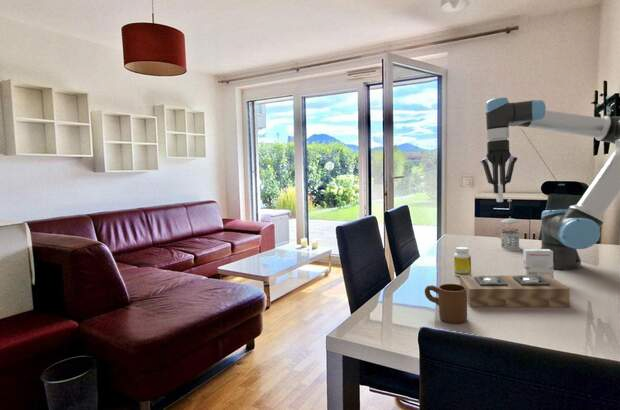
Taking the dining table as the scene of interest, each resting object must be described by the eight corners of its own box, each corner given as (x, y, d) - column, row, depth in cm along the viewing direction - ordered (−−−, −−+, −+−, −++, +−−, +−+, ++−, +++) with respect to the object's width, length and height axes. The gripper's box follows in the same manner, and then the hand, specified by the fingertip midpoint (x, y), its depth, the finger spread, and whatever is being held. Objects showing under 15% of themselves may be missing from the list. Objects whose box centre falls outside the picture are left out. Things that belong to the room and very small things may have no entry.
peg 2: (535, 293, 121) (535, 276, 120) (541, 297, 116) (541, 280, 116) (520, 293, 121) (520, 276, 121) (525, 297, 117) (525, 280, 117)
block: (548, 291, 124) (548, 273, 124) (569, 306, 111) (569, 286, 110) (460, 291, 130) (459, 274, 129) (469, 306, 116) (469, 287, 115)
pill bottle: (472, 277, 144) (472, 249, 143) (456, 277, 146) (455, 249, 145) (469, 272, 151) (468, 246, 150) (453, 273, 152) (452, 246, 151)
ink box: (549, 279, 136) (549, 248, 135) (553, 284, 131) (553, 251, 130) (523, 279, 139) (523, 248, 137) (526, 283, 134) (526, 251, 133)
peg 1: (495, 293, 123) (495, 276, 122) (500, 297, 119) (499, 280, 118) (481, 293, 124) (481, 277, 123) (485, 297, 119) (484, 281, 119)
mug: (420, 318, 110) (419, 287, 109) (430, 309, 116) (429, 280, 115) (462, 326, 102) (461, 293, 101) (470, 317, 108) (469, 285, 107)
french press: (525, 250, 181) (525, 199, 179) (501, 251, 181) (500, 200, 179) (515, 246, 191) (514, 197, 189) (492, 247, 191) (491, 199, 189)
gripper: (512, 139, 144) (513, 199, 146) (476, 142, 146) (479, 201, 148) (520, 137, 137) (521, 201, 139) (483, 141, 139) (485, 203, 141)
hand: (499, 201), depth 144 cm, fingers closed
